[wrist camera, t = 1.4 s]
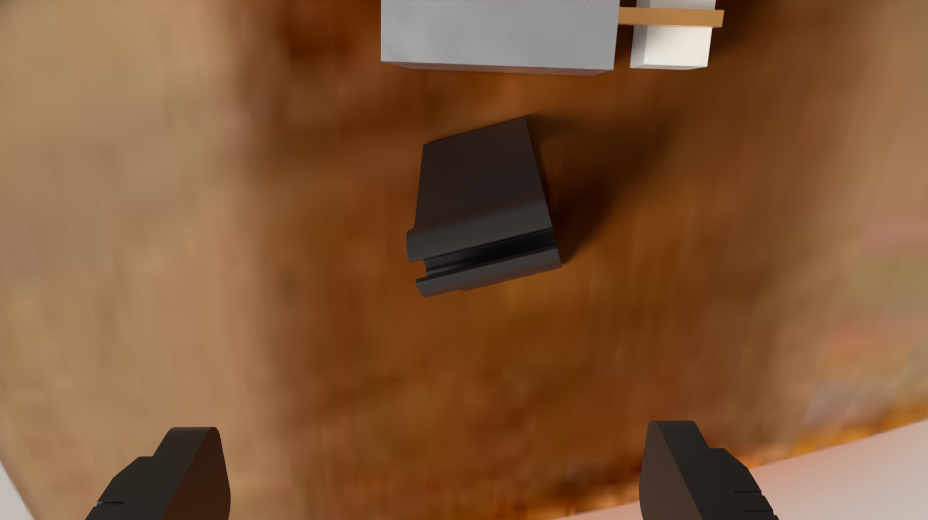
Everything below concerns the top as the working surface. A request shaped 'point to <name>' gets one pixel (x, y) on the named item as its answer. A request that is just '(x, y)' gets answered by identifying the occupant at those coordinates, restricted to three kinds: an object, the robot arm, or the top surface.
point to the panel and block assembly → (671, 40)
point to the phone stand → (481, 211)
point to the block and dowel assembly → (518, 33)
